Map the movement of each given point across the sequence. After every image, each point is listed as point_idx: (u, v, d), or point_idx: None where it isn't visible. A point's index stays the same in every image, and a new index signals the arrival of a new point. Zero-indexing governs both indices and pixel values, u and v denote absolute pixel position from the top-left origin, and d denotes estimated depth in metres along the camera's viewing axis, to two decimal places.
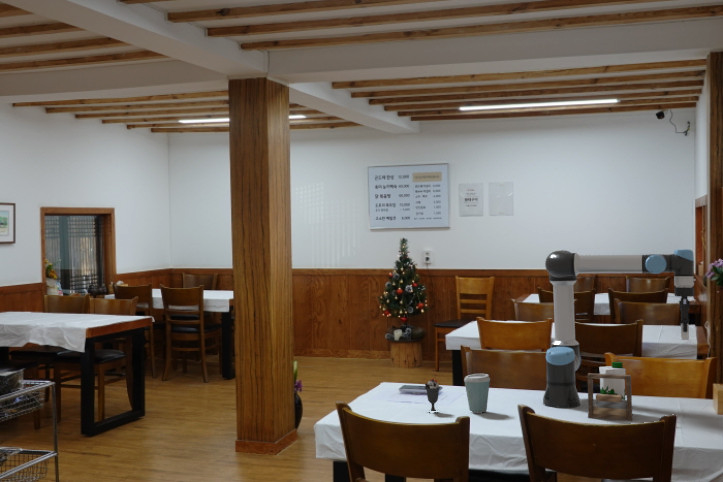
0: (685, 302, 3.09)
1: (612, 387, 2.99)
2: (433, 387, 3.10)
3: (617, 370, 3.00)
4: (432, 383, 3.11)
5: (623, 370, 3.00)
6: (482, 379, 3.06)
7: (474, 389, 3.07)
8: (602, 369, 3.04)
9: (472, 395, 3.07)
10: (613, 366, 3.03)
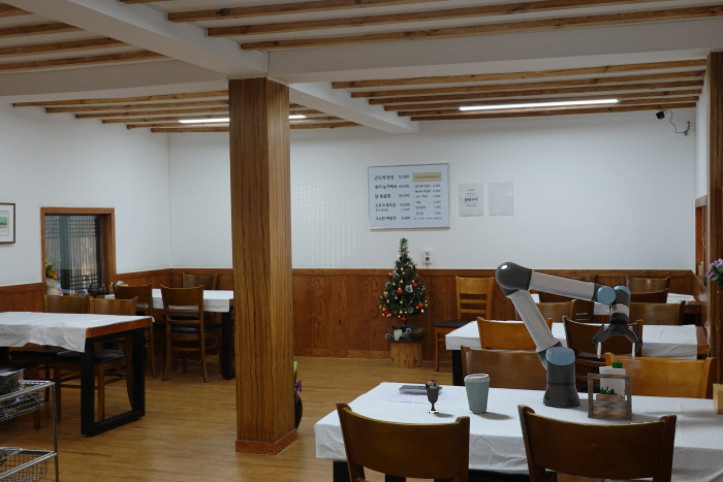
0: (635, 329, 3.20)
1: (612, 387, 2.99)
2: (433, 387, 3.10)
3: (617, 370, 3.00)
4: (432, 383, 3.11)
5: (623, 370, 3.00)
6: (482, 379, 3.06)
7: (474, 389, 3.07)
8: (602, 369, 3.04)
9: (472, 395, 3.07)
10: (613, 366, 3.03)
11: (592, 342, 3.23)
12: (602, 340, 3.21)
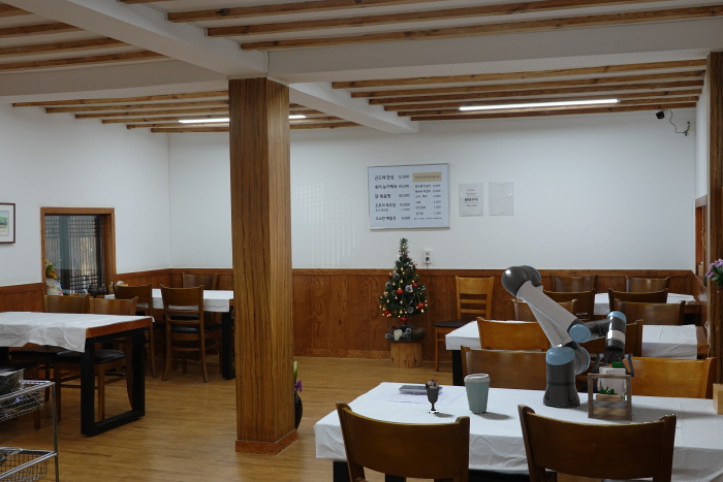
0: (631, 358, 3.08)
1: (612, 387, 2.99)
2: (433, 387, 3.10)
3: (617, 370, 3.00)
4: (432, 383, 3.11)
5: (623, 370, 3.00)
6: (482, 379, 3.06)
7: (474, 389, 3.07)
8: (602, 369, 3.04)
9: (472, 395, 3.07)
10: (613, 366, 3.03)
11: None
12: None
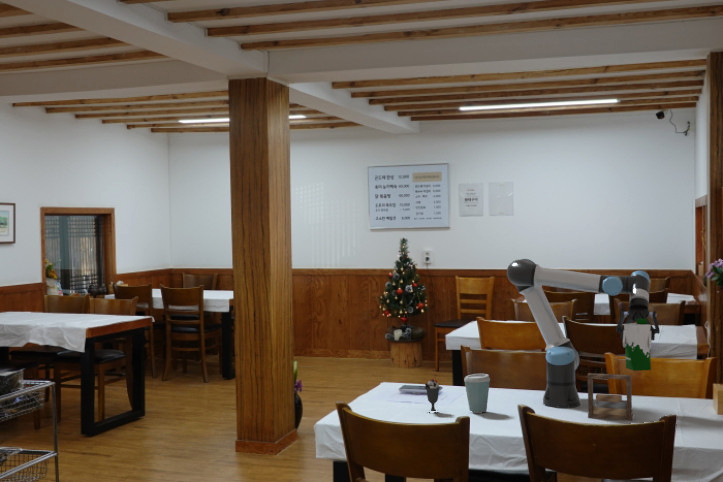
0: None
1: (638, 343, 3.01)
2: (433, 387, 3.10)
3: (642, 326, 3.02)
4: (432, 383, 3.11)
5: (648, 326, 3.02)
6: (482, 379, 3.06)
7: (474, 389, 3.07)
8: (627, 326, 3.05)
9: (472, 395, 3.07)
10: (638, 322, 3.05)
11: (616, 330, 3.11)
12: None
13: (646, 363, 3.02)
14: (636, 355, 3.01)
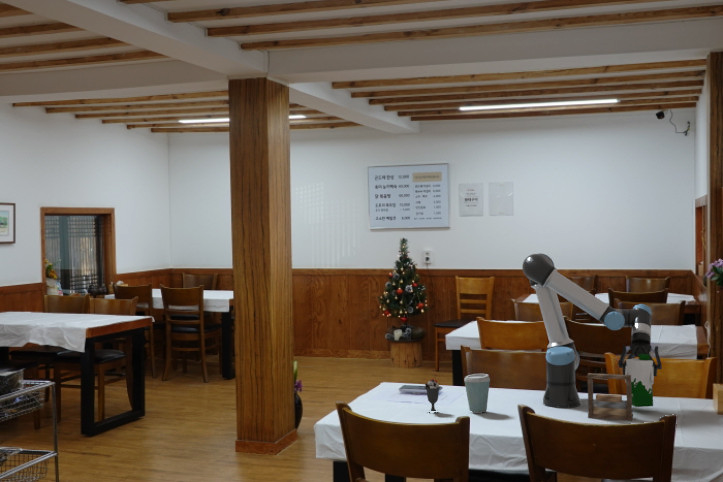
0: (658, 351, 3.10)
1: (640, 379, 3.01)
2: (433, 387, 3.10)
3: (644, 362, 3.01)
4: (432, 383, 3.11)
5: (650, 362, 3.02)
6: (482, 379, 3.06)
7: (474, 389, 3.07)
8: (629, 361, 3.05)
9: (472, 395, 3.07)
10: (640, 358, 3.05)
11: None
12: None
13: (649, 399, 3.01)
14: (638, 391, 3.01)
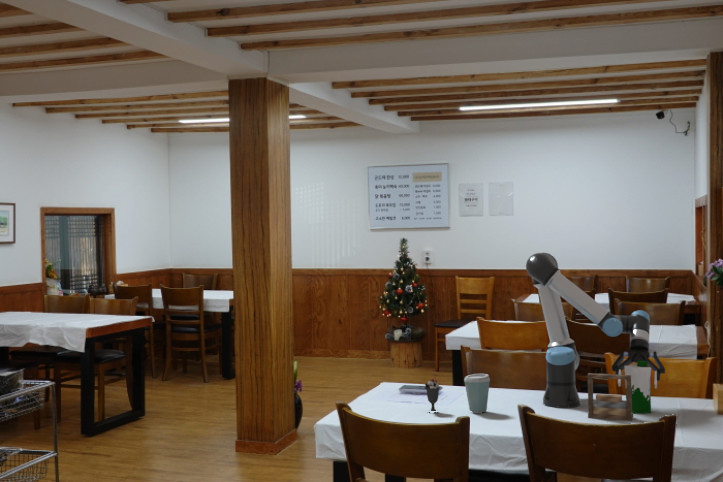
0: (656, 356, 3.10)
1: (638, 386, 3.01)
2: (433, 387, 3.10)
3: (643, 369, 3.02)
4: (432, 383, 3.11)
5: (649, 369, 3.02)
6: (482, 379, 3.06)
7: (474, 389, 3.07)
8: (627, 368, 3.05)
9: (472, 395, 3.07)
10: (638, 365, 3.05)
11: (612, 369, 3.12)
12: (622, 367, 3.11)
13: (647, 406, 3.01)
14: (636, 398, 3.01)
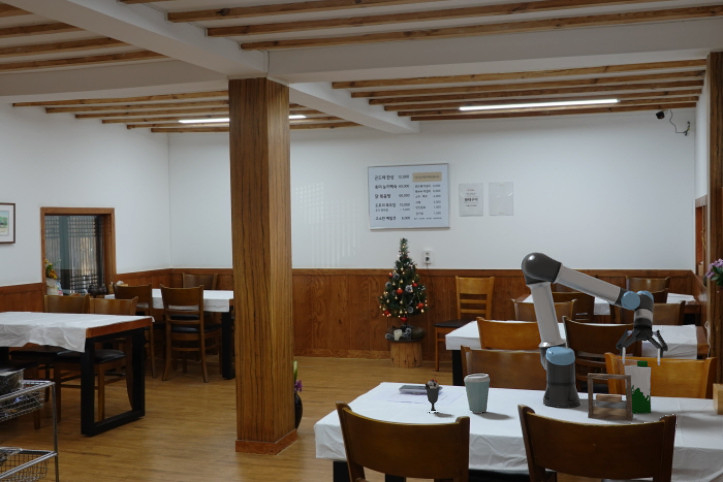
0: None
1: (638, 386, 3.01)
2: (433, 387, 3.10)
3: (643, 369, 3.02)
4: (432, 383, 3.11)
5: (649, 369, 3.02)
6: (482, 379, 3.06)
7: (474, 389, 3.07)
8: (627, 368, 3.05)
9: (472, 395, 3.07)
10: (638, 365, 3.05)
11: (616, 347, 3.22)
12: (626, 345, 3.20)
13: (647, 406, 3.01)
14: (636, 398, 3.01)
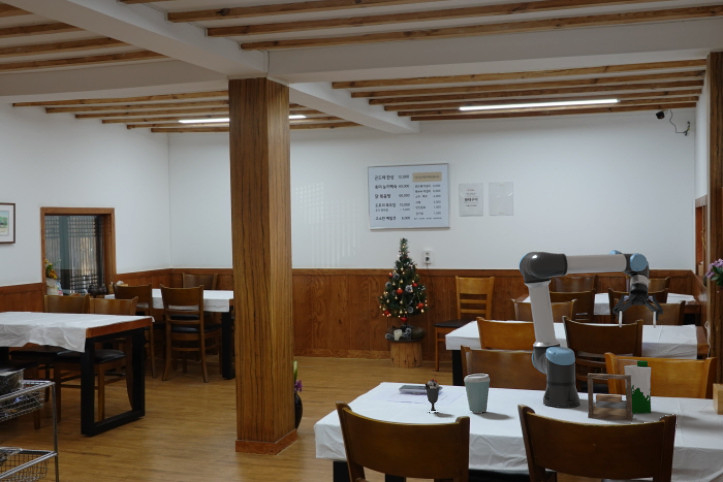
0: (655, 298, 3.29)
1: (638, 386, 3.01)
2: (433, 387, 3.10)
3: (643, 369, 3.02)
4: (432, 383, 3.11)
5: (649, 369, 3.02)
6: (482, 379, 3.06)
7: (474, 389, 3.07)
8: (627, 368, 3.05)
9: (472, 395, 3.07)
10: (638, 365, 3.05)
11: (613, 312, 3.30)
12: (623, 310, 3.29)
13: (647, 406, 3.01)
14: (636, 398, 3.01)
